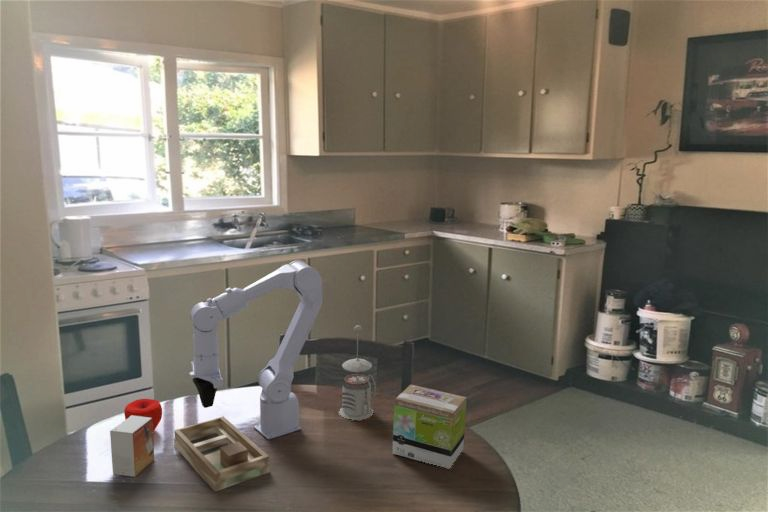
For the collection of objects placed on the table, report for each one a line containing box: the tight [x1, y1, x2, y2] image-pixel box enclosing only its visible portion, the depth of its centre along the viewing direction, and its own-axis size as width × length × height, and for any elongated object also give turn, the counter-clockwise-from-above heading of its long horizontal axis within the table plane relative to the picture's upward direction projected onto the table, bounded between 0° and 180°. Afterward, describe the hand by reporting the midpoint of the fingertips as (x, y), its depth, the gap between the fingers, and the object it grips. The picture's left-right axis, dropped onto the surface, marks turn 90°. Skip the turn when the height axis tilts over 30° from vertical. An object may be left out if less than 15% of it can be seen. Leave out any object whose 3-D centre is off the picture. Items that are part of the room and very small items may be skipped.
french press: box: [338, 324, 377, 421], centre depth 164 cm, size 10×12×25 cm
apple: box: [123, 398, 163, 432], centre depth 152 cm, size 9×9×8 cm
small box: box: [109, 415, 155, 478], centre depth 136 cm, size 8×6×10 cm
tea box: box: [392, 384, 468, 469], centre depth 145 cm, size 15×10×15 cm, turn 65°
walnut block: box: [220, 442, 248, 468], centre depth 135 cm, size 4×4×4 cm
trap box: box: [173, 415, 271, 493], centre depth 141 cm, size 13×24×4 cm, turn 39°
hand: (207, 406), depth 147 cm, fingers closed
